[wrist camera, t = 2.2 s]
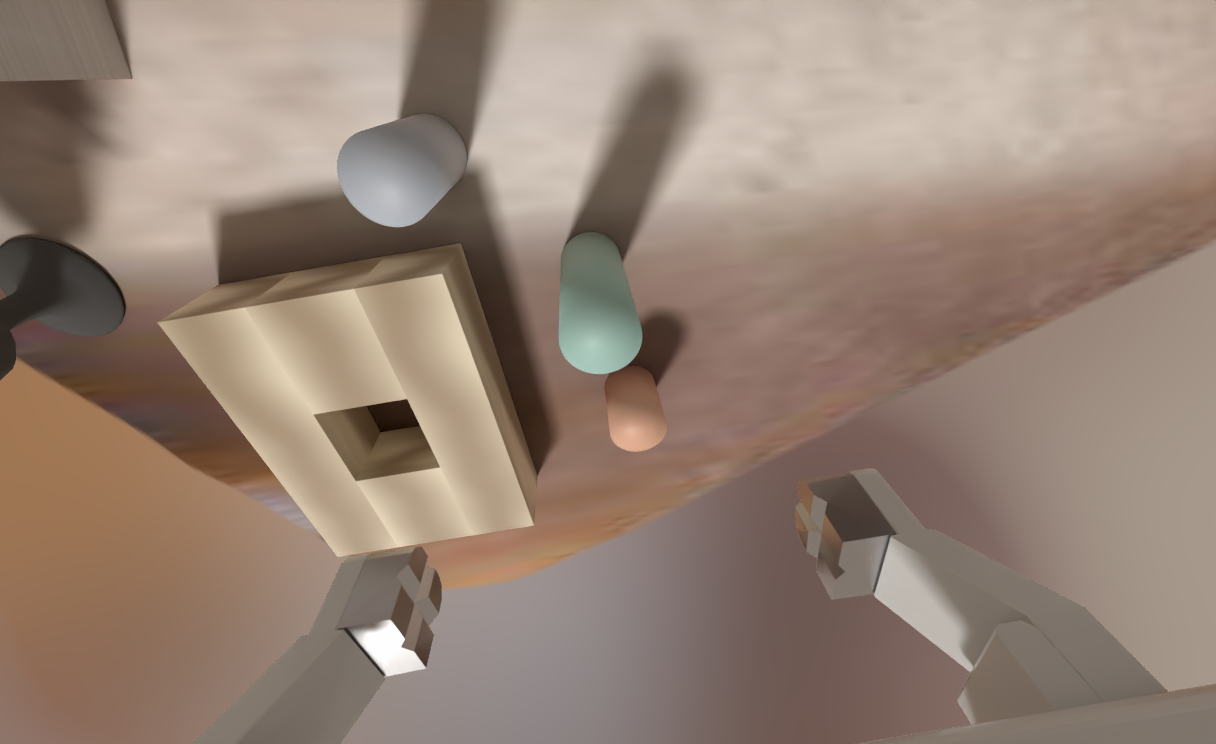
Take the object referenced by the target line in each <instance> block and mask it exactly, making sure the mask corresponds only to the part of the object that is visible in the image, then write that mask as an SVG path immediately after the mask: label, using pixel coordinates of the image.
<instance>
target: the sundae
mask: <svg viewBox="0 0 1216 744" xmlns="http://www.w3.org/2000/svg"><path fill="white" fill-rule="evenodd" d="M0 288H1V290H2V291H3V292H4V293H5V294H6V295H7V297H6V298H4V299H2V300H0V380H1V379H2V378H3V377H4V376H5V375H6V374H8V373H9V372H10V371H11V370H12V369H13V366H14V364H15V361H16V344H15V341H14V338H13V336H12V334H11V332H10V330H11V329H13V328H15V327H17V326H19V325H21V324H23V323H25V322H27V321H30V320H33V319H36V320H37V321H39V322H40V323H43V324H45V325H47V326H49V327H51V328H53V329H56V330H58V331H61V332H63V333H68V334H73V335H78V336H99V335H104V334H108V333H110V332H111V331H113V330H115V329H116V328H117V327H118V326H119V325H120V324H121V322H122V319H123V316H124V306H123V301H122V298H121V295H120V293H119V291H118V289H117V288H116V286H115V285H114V283H113V282H112V281H111V280H110V278H109V277H108V276H107V275H106V274H105V273H104V272H103V271H102V270H101V269H100V268H99V267H97V266H96V265H95V264H94V263H92V262H91V261H90V260H88V259H87V258H85V257H84V256H82V255H80V254H78V253H77V252H75V251H73V250H71V249H68V248H66V247H64V246H61V245H59V244H57V243H53V242H49V241H45V240H39V239H33V238H25V239H17V240H12V241H8V242H7V243H5V244H4V245H2V246H1V247H0Z"/></svg>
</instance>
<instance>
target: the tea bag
mask: <svg viewBox="0 0 1216 744" xmlns="http://www.w3.org/2000/svg"><path fill="white" fill-rule="evenodd" d="M90 79H132V76H131V73H130V70H129V68H128V65H127V62H126V59H125V56H124V53H123V51H122V48H121V45H120V42H119V39H118V36H117V34H116V31H115V28H114V25H113V22H112V19H111V17H110V14H109V11H108V8H107V5H106V2H105V0H0V81H44V80H90Z"/></svg>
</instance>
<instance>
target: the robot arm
mask: <svg viewBox="0 0 1216 744" xmlns="http://www.w3.org/2000/svg"><path fill="white" fill-rule="evenodd" d="M797 494H798V496H799V498H800V499H801V502H800V503H799V504H798V505H797V506H796V507H795V522H796V527H797V532H798V534H799V537H800V540H801V542H802V544H803V546H804V548H805V550H806V551H807V552H808V553H810V554H811V555H813V556H814V557H816V558H817V559H818V560H817V567H816V571H817V573H818V575H819V577H820V578H821V580H822V582H823V584H824V586H825V588H826V590H827V592H828V593H829V595H830V597H831V599H832V600H833V599H840V598H847V597H855V596H862V595H868V594H874V596H875V597H876V598H877V599H878V600H880V601H881V602H882V603H883V604H885V605H886V606H887V607H888V608H890V609H891V610H892V611H894V612H895V613H896V614H897V615H899V616H900V617H901V618H902V619H904V620H905V621H906V622H908V623H909V624H910V625H911V626H913V627H914V628H915V629H916V630H918V631H919V632H920V633H922V634H923V635H924V636H925V637H927V638H928V639H929V640H930V641H932V642H933V643H934V644H935V645H937V646H938V647H939V648H941V649H942V650H943V651H944V652H946V653H947V654H948V655H950V656H951V657H952V658H953V659H955V660H956V661H957V662H958V663H960V664H961V665H962V666H963V667H965V668H966V669H967V670H968V671H970V672H971V673H970V675H969V677H968V678H967V680H966V682H965V684H964V686H963V687H962V689H961V691H960V693H959V696H958V700H957V701H958V703H959V705H960V706H961V708H962V709H963V711H964V713H965V714H966V716H967V717H968V719H969V721H970V722H971V724H972V725H966V726H960V727H954V728H949V729H942V730H937V731H931V732H925V733H918V734H912V735H907V736H900V737H894V738H889V739H882V740H876V741H870V742H864V743H859V744H1216V684H1212V685H1206V686H1199V687H1194V688H1187V689H1181V690H1175V691H1169V692H1168V691H1167V690H1166V689H1165V688H1164V687H1163V686H1162V685H1161V684H1160V683H1159V682H1158V681H1157V680H1156V679H1155V678H1154V677H1153V676H1152V675H1151V674H1150V673H1149V672H1148V671H1147V670H1146V669H1145V668H1144V667H1143V666H1142V665H1141V664H1140V663H1139V662H1138V661H1137V660H1136V659H1135V658H1134V657H1133V656H1132V655H1131V654H1130V653H1129V652H1128V651H1127V650H1126V649H1125V648H1124V647H1123V646H1122V645H1121V644H1120V643H1119V642H1118V641H1117V640H1116V639H1115V638H1114V637H1113V635H1111V634H1110V633H1109V632H1108V631H1107V629H1105V628H1104V626H1103V625H1102V624H1101V623H1100V622H1099V621H1098V620H1096V618H1095V617H1094V616H1093V615H1092V614H1091V613H1090V612H1089V611H1088V610H1087V609H1086V608H1084V607H1082V606H1080V605H1079V604H1077V603H1075V602H1073V601H1071V600H1069V599H1067V598H1065V597H1063V596H1061V595H1059V594H1057V593H1056V592H1054V591H1052V590H1050V589H1048V588H1046V587H1044V586H1042V585H1040V584H1038V583H1036V582H1035V581H1033V580H1031V579H1028V578H1027V577H1025V576H1023V575H1021V574H1019V573H1017V572H1015V571H1013V570H1011V569H1010V568H1008V567H1006V566H1004V565H1002V564H1000V563H998V562H996V561H994V560H992V559H990V558H989V557H987V556H985V555H983V554H981V553H979V552H977V551H975V550H973V549H971V548H969V547H967V546H966V545H963V544H962V543H960V542H958V541H956V540H954V539H952V538H950V537H948V536H946V535H944V534H943V533H941V532H939V531H937V530H935V529H929V530H926V529H925V528H924V527H923V526H922V525H921V523H920V522H919V521H918V520H917V518H916V517H915V516H914V515H913V514H912V512H911V511H910V510H909V509H908V508H907V507H906V505H905V504H904V503H903V501H902V500H901V499H900V498H899V497H898V496H897V494H896V493H895V492H894V491H893V489H892V488H891V487H890V486H889V485H888V483H887V482H886V481H885V480H884V479H883V477H882V476H881V475H880V474H879V472H878V471H876V470H875V469H873V468H869V469H863V470H857V471H851V472H847V473H846V472H844V473H838V474H832V475H827V476H821V477H817V478H811V479H805V480H801V481H800V482H799V484H798V488H797ZM427 557H428V555H427V554H426V552H425V551H424V549H423V548H422V547H412V548H405V549H398V550H391V551H384V552H377V553H371V554H365V555H359V556H352V557H348V558H347V559H346V560H345V561H344V562H343V563H342V564H341V566H340V568H339V570H338V573H337V575H336V577H335V579H334V581H333V583H332V585H331V588H330V590H329V592H328V594H327V596H326V599H325V601H324V603H323V605H322V607H321V609H320V612H319V614H318V616H317V618H316V620H315V623H314V625H313V627H312V629H311V631H310V633H309V635H305V636H302V637H300V638H299V639H298V640H297V641H296V642H295V643H294V644H293V645H292V646H291V647H290V648H289V649H288V650H287V651H286V652H285V653H284V654H283V655H282V656H281V657H280V658H279V659H278V660H277V661H276V662H275V663H274V664H273V665H272V666H271V667H270V668H269V669H268V670H267V671H266V672H265V673H264V674H263V675H261V676H260V677H259V678H258V679H257V680H256V681H255V683H253V684H252V685H251V686H250V687H249V688H248V689H247V690H246V691H245V692H244V693H243V694H242V695H241V696H240V697H239V698H238V699H237V700H236V701H235V702H234V703H233V704H232V705H231V706H230V707H229V708H228V709H227V710H226V711H225V712H224V713H223V714H222V715H221V716H220V717H219V718H218V719H217V720H216V721H215V722H213V724H211V725H210V727H208V728H207V729H206V730H205V731H204V732H203V733H202V734H201V735H200V736H199V737H198V738H197V739H196V740H195V741H194V742H193V743H192V744H341V742H342V741H343V739H344V738H345V736H346V735H347V733H348V732H349V731H350V729H351V728H352V726H353V725H354V723H355V722H356V721H357V719H358V718H359V716H360V715H361V713H362V712H363V711H364V709H365V708H366V706H367V705H368V703H369V702H370V701H371V699H372V698H373V696H374V695H375V693H376V692H377V690H378V689H379V687H380V686H381V685H382V683H383V682H384V680H385V678H384V677H385V676H391V675H395V674H400V673H405V672H410V671H416V670H420V669H426V667H427V663H428V659H429V654H430V650H431V645H432V641H433V637H434V634H433V632H432V630H431V629H430V626H429V625H430V624H431V623H432V621H433V620H434V619H435V618H436V616H437V615H438V614H439V610H440V606H441V601H442V585H441V581H440V577H439V575H438V573H437V571H436V569H435V568H433V567H431V566H429V565H426V561H427Z"/></svg>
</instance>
